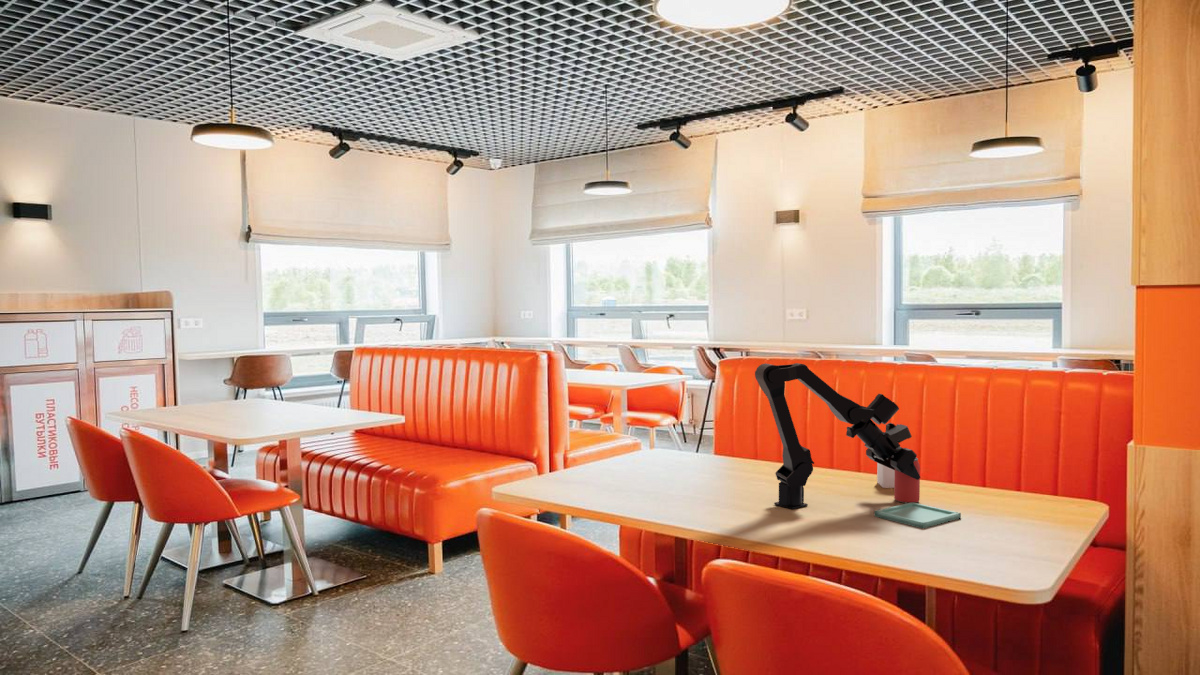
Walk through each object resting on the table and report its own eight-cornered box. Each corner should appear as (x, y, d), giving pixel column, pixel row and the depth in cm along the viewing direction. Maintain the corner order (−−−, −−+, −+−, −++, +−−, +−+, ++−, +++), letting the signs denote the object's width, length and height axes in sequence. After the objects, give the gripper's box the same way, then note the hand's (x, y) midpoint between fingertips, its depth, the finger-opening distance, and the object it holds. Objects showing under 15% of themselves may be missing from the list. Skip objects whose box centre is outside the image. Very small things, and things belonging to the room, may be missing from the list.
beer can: (921, 504, 222) (922, 460, 221) (896, 503, 223) (896, 459, 223) (917, 498, 228) (917, 456, 228) (892, 497, 230) (893, 455, 229)
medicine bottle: (901, 483, 248) (901, 444, 247) (907, 488, 241) (908, 448, 240) (876, 482, 249) (877, 443, 248) (882, 488, 242) (883, 447, 241)
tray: (923, 528, 198) (923, 522, 198) (874, 516, 210) (874, 510, 210) (960, 518, 207) (960, 513, 207) (911, 507, 219) (911, 502, 219)
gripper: (909, 420, 215) (948, 460, 217) (876, 410, 233) (912, 448, 235) (881, 450, 214) (920, 490, 216) (850, 439, 233) (886, 476, 235)
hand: (910, 475), depth 226 cm, fingers open, 9 cm apart
